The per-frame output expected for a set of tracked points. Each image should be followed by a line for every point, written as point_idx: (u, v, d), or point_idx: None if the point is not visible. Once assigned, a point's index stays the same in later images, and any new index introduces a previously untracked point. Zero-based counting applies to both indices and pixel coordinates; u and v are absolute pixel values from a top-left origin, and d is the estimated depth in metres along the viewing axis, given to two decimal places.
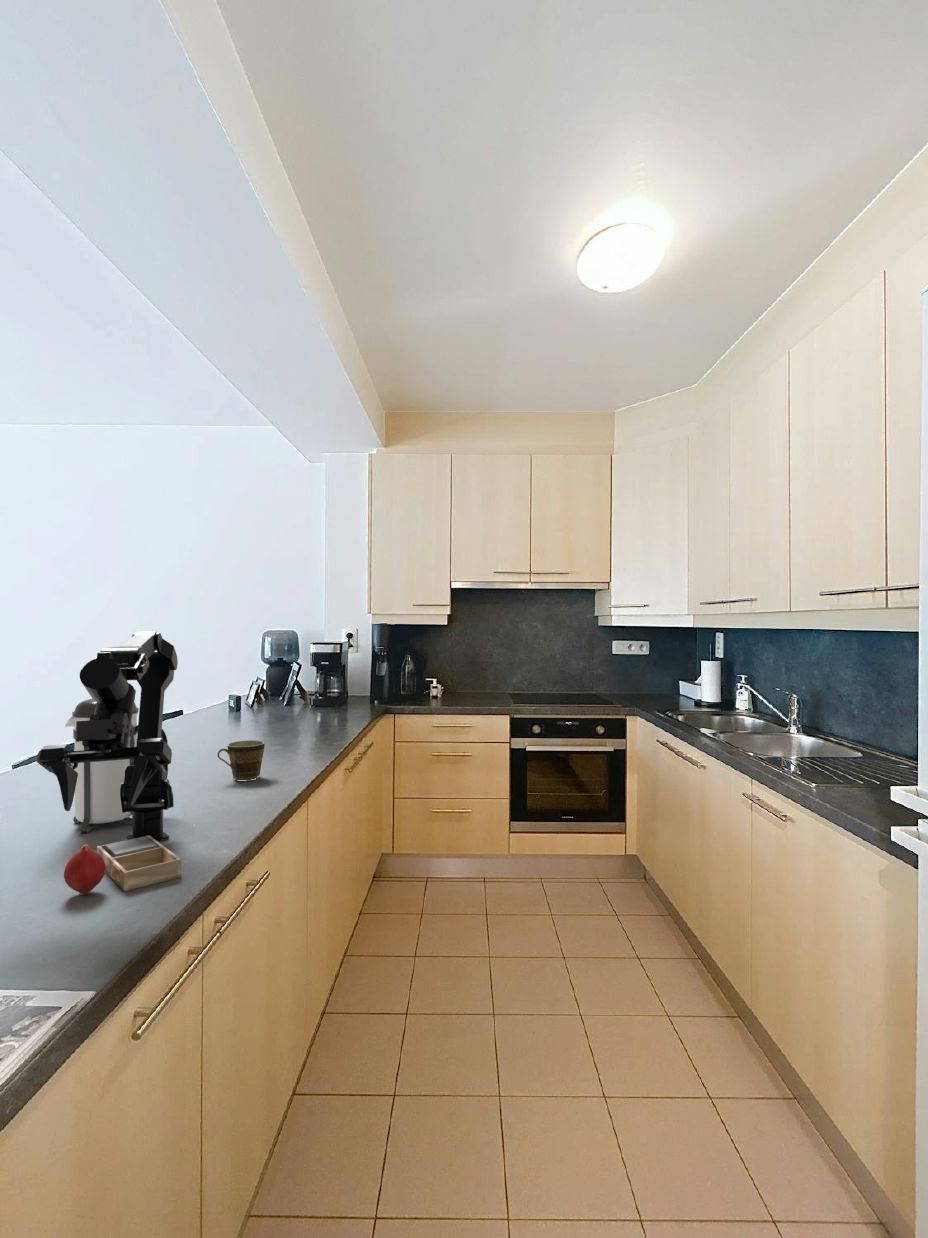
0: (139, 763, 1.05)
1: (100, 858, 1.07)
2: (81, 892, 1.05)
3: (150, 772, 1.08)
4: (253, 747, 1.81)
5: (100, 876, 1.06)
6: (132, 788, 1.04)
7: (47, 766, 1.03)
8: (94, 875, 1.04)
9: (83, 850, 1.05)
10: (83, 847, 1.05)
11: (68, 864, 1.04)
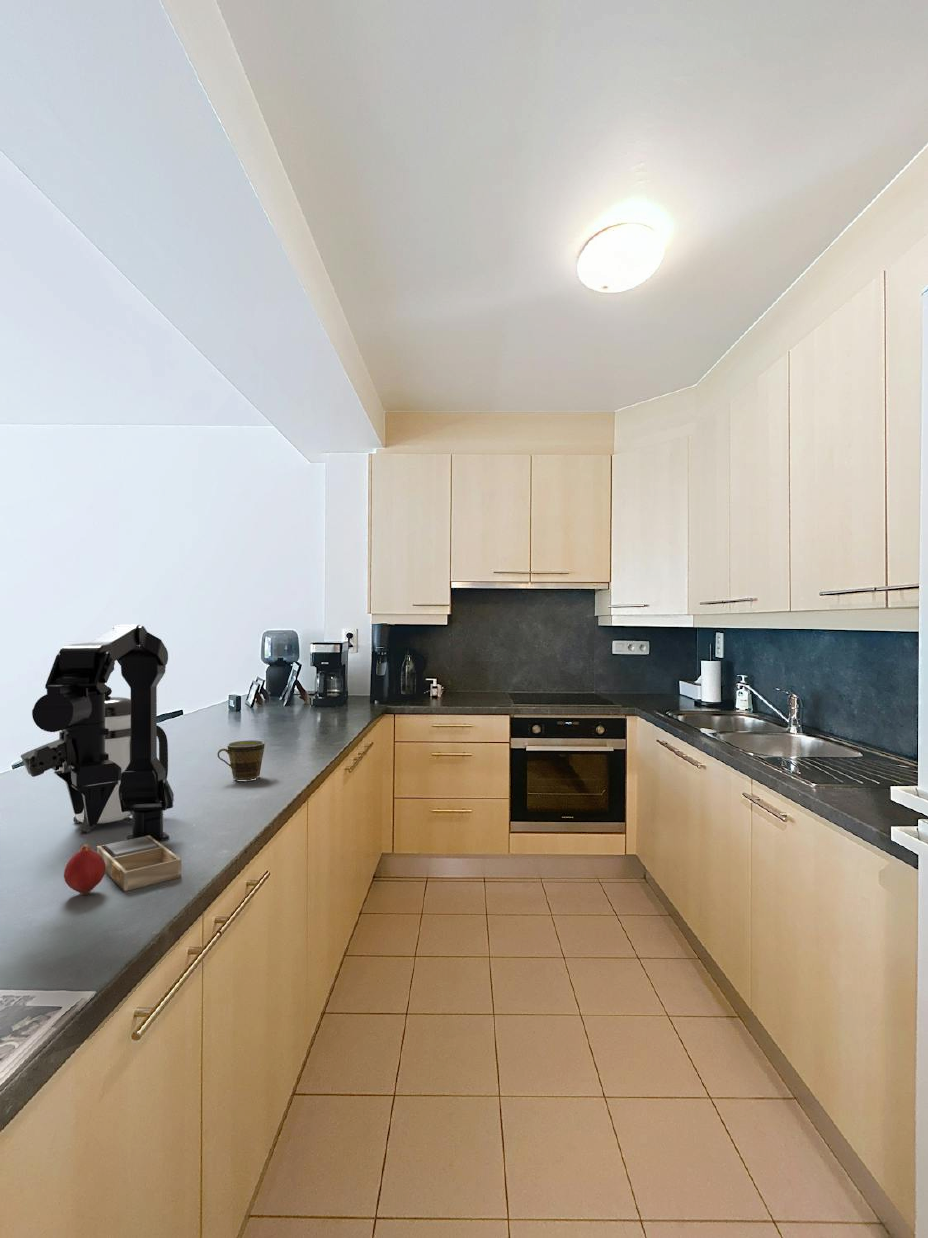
0: None
1: (100, 858, 1.07)
2: (81, 892, 1.05)
3: (108, 789, 1.03)
4: (253, 747, 1.81)
5: (100, 876, 1.06)
6: None
7: None
8: (94, 875, 1.04)
9: (83, 850, 1.05)
10: (83, 847, 1.05)
11: (68, 864, 1.04)
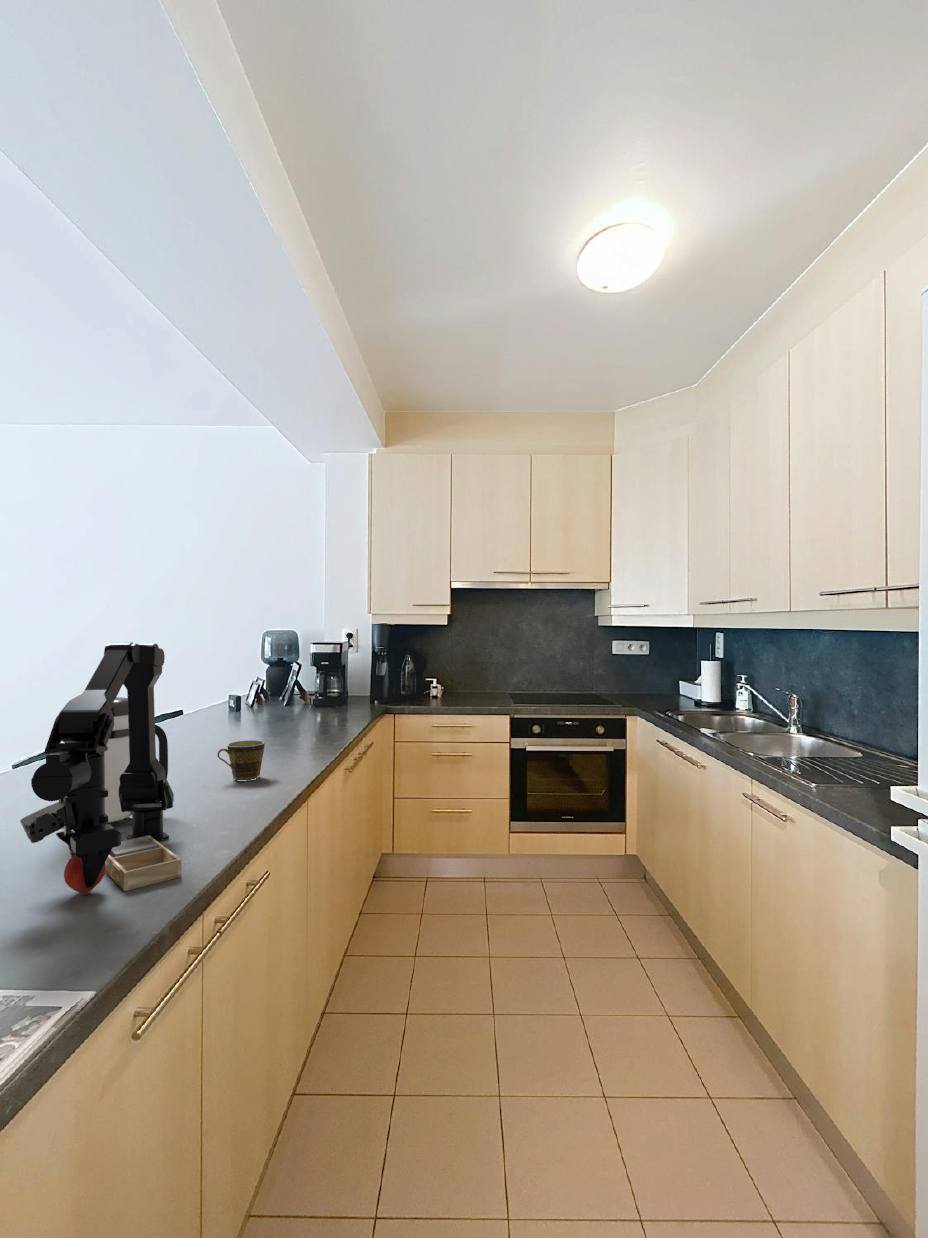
0: None
1: None
2: (81, 892, 1.05)
3: (105, 851, 1.04)
4: (253, 747, 1.81)
5: (100, 876, 1.06)
6: (83, 874, 1.03)
7: None
8: None
9: None
10: None
11: (68, 864, 1.04)
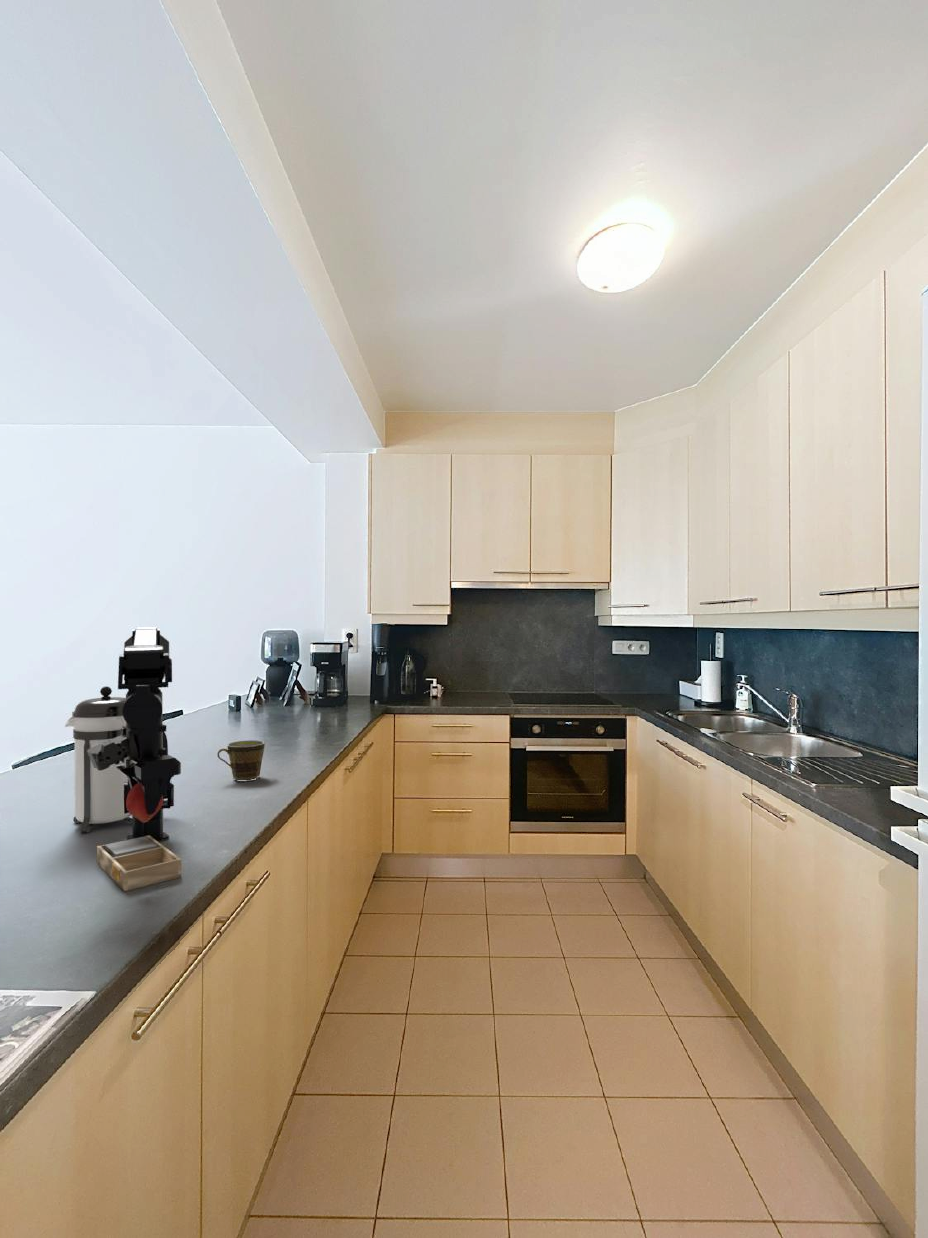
0: (138, 782, 1.09)
1: None
2: (142, 819, 1.12)
3: (164, 780, 1.11)
4: (253, 747, 1.81)
5: (159, 805, 1.13)
6: (144, 801, 1.10)
7: None
8: None
9: None
10: None
11: (130, 793, 1.12)
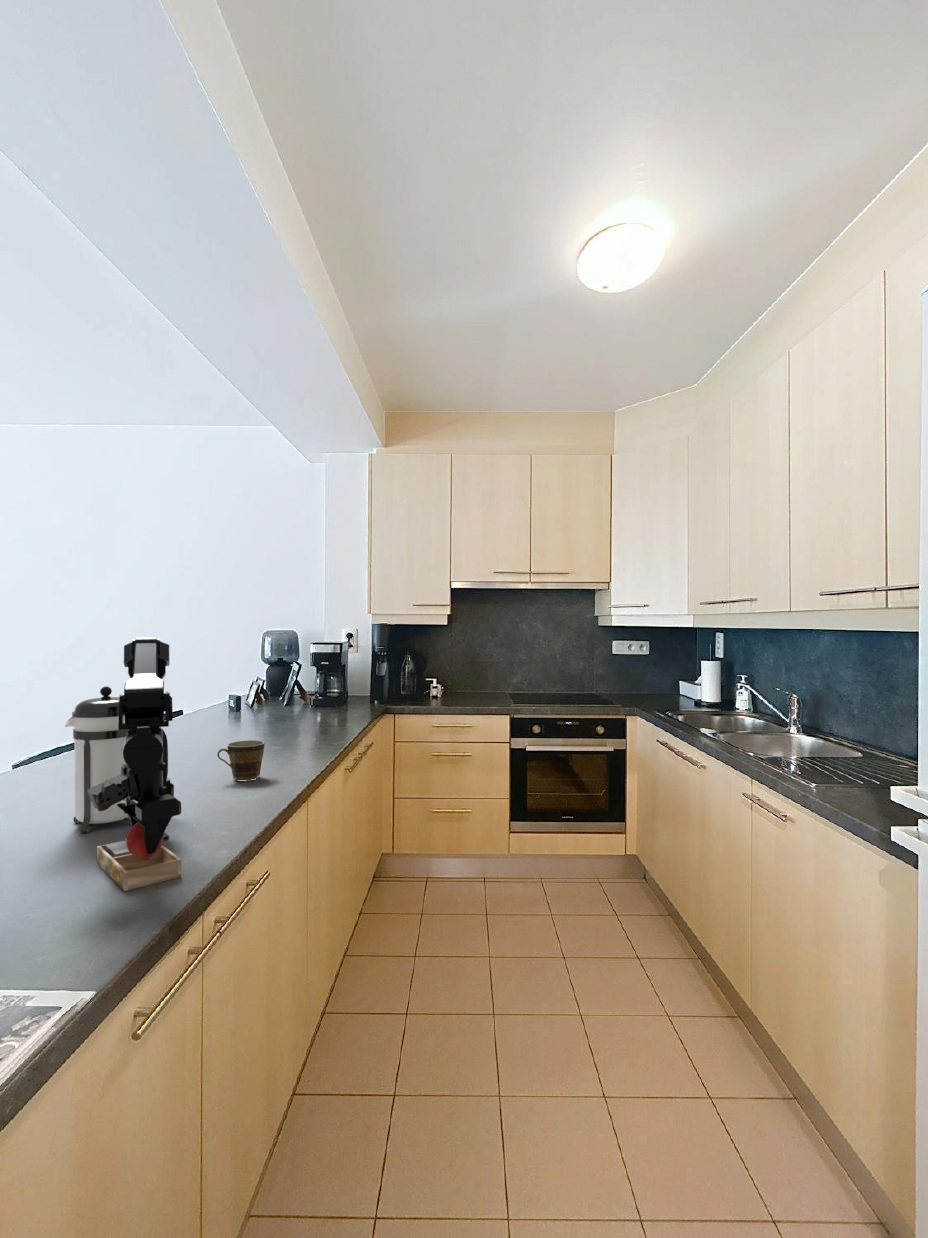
0: None
1: None
2: (142, 858, 1.12)
3: (165, 819, 1.11)
4: (253, 747, 1.81)
5: (159, 843, 1.13)
6: (145, 841, 1.10)
7: None
8: None
9: None
10: None
11: (130, 832, 1.12)
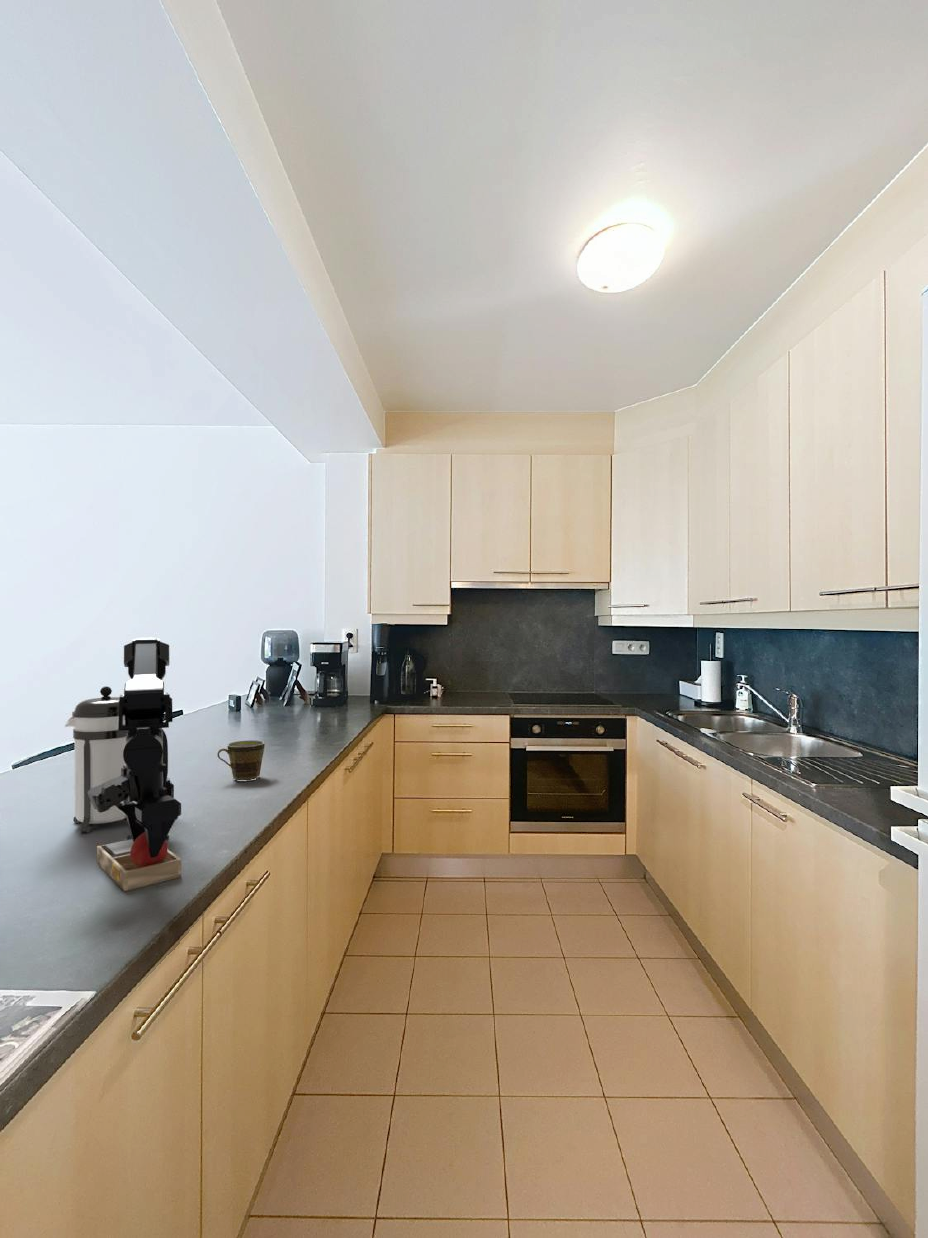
0: None
1: (164, 841, 1.14)
2: None
3: (168, 823, 1.10)
4: (253, 747, 1.81)
5: (162, 857, 1.13)
6: (148, 844, 1.09)
7: None
8: (157, 856, 1.12)
9: None
10: None
11: (136, 841, 1.12)
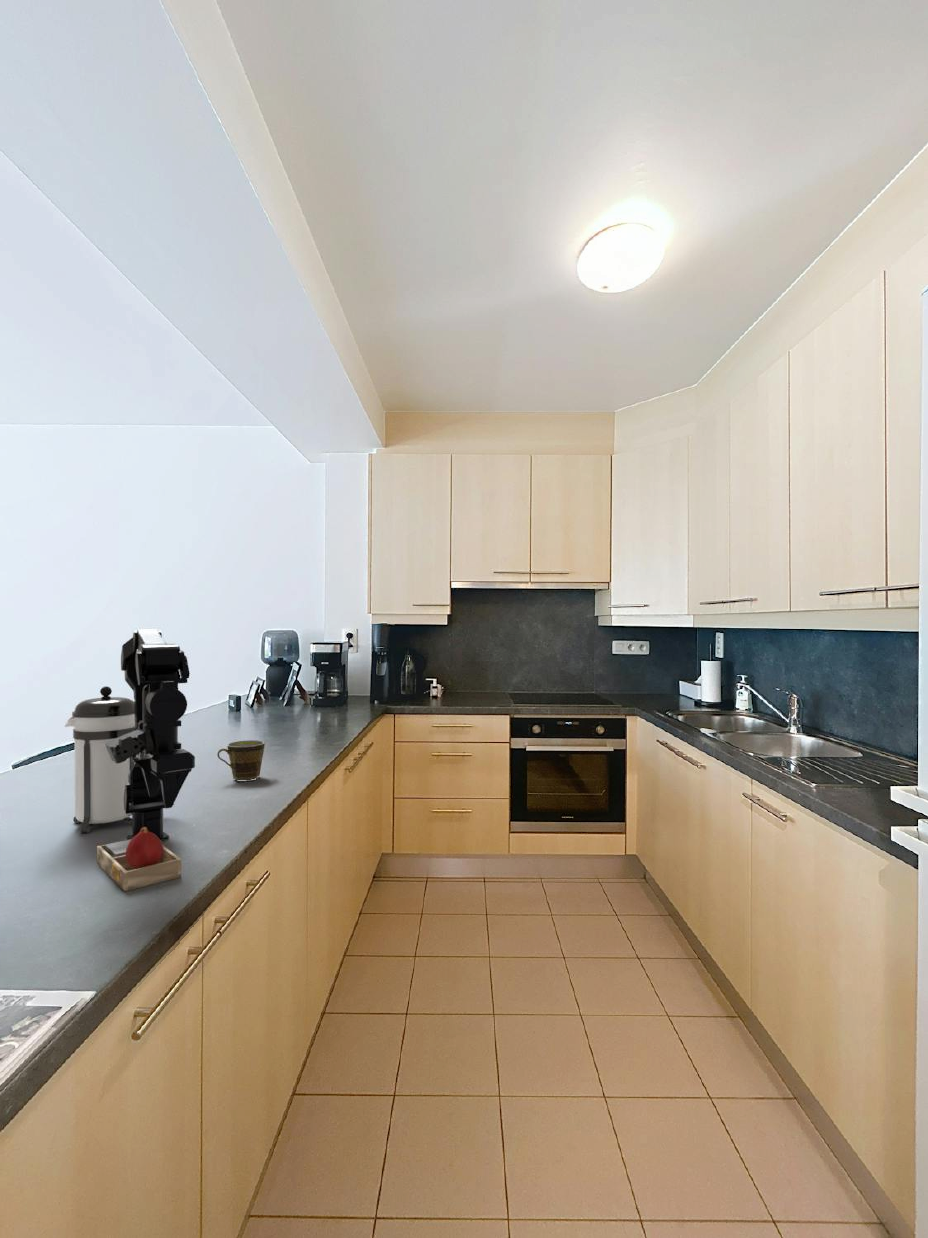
0: (157, 777, 1.11)
1: (158, 840, 1.14)
2: None
3: (182, 775, 1.13)
4: (253, 747, 1.81)
5: (158, 856, 1.13)
6: (163, 795, 1.13)
7: None
8: (153, 855, 1.12)
9: (142, 832, 1.13)
10: (142, 829, 1.13)
11: (129, 845, 1.12)
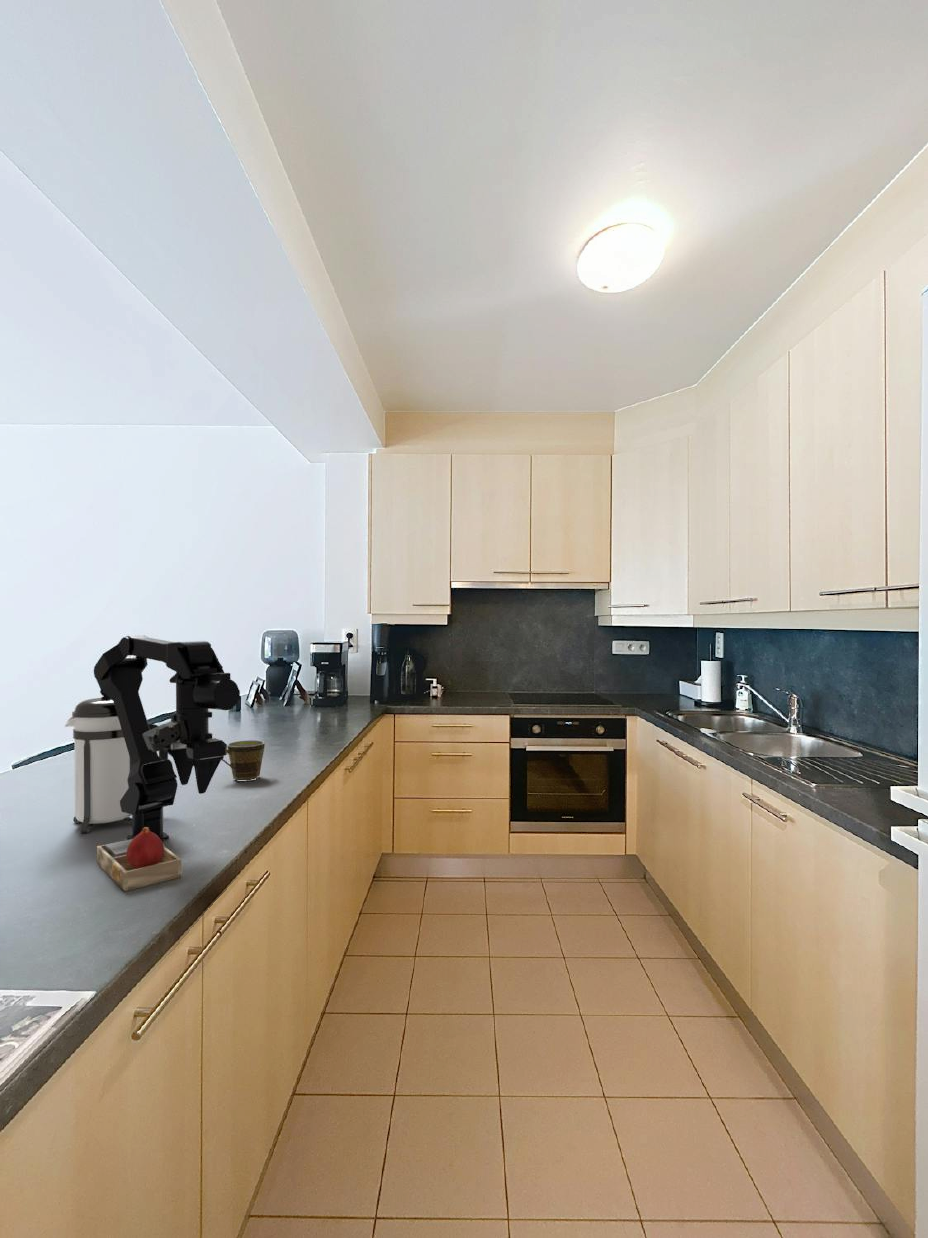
0: (192, 764, 1.20)
1: (159, 840, 1.14)
2: None
3: (215, 762, 1.22)
4: (253, 747, 1.81)
5: (159, 856, 1.13)
6: (197, 781, 1.21)
7: (165, 751, 1.29)
8: (153, 855, 1.12)
9: (144, 832, 1.13)
10: (144, 829, 1.13)
11: (130, 844, 1.12)
